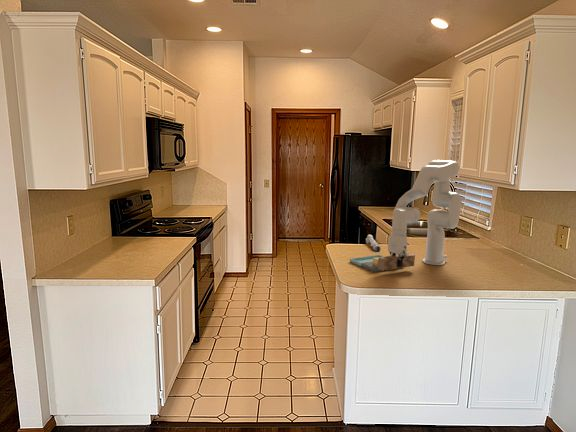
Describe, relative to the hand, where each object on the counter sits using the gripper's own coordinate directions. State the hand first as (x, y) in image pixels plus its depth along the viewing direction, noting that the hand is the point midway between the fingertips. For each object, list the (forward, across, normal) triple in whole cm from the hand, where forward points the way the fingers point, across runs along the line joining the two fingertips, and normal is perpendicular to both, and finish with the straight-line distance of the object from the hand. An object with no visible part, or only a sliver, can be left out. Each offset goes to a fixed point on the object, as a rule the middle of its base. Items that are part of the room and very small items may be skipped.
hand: (396, 265), depth 219 cm
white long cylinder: (+5, -51, +27) cm, 58 cm away
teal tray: (+4, -21, 0) cm, 21 cm away
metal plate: (+4, -10, 0) cm, 11 cm away
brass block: (+2, -8, -6) cm, 10 cm away
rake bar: (+1, 0, 0) cm, 1 cm away
